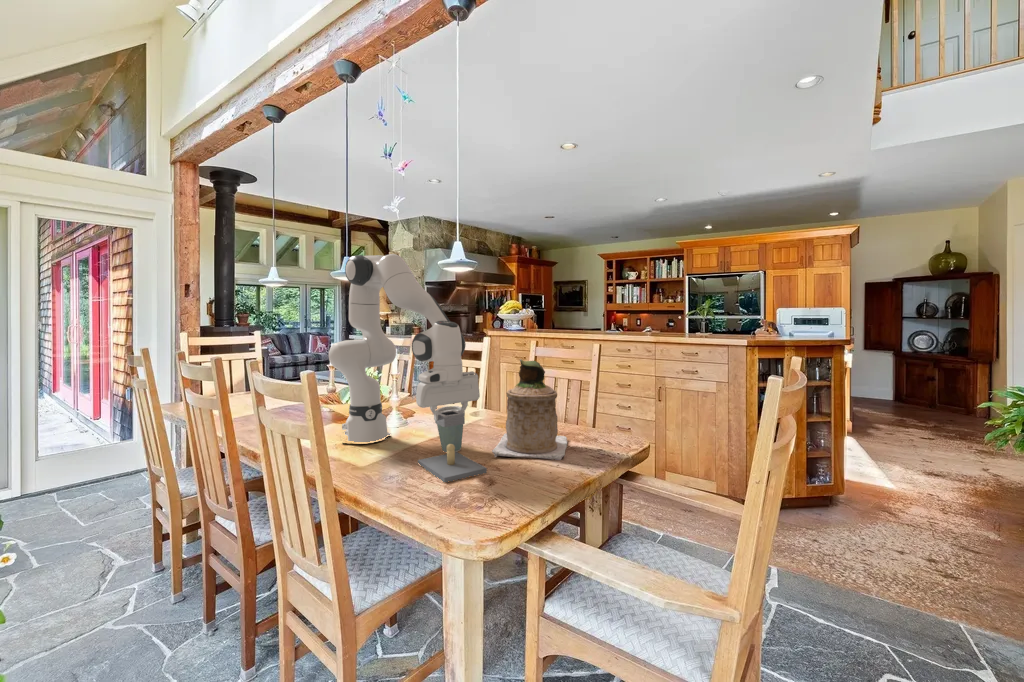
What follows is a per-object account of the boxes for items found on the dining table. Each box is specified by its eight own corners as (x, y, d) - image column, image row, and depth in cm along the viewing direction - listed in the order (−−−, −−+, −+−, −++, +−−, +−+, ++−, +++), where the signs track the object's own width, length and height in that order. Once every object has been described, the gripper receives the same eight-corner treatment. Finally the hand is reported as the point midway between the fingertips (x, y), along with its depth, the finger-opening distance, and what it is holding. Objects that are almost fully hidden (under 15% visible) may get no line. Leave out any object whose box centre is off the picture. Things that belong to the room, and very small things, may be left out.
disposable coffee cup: (464, 455, 159) (462, 411, 158) (432, 455, 159) (431, 412, 158) (467, 446, 170) (466, 405, 169) (438, 446, 170) (436, 405, 169)
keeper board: (417, 464, 151) (417, 440, 150) (457, 456, 158) (456, 433, 158) (444, 483, 134) (443, 456, 133) (486, 472, 142) (486, 447, 141)
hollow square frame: (435, 423, 146) (434, 412, 146) (454, 419, 150) (454, 410, 149) (444, 427, 140) (444, 416, 140) (464, 423, 144) (464, 413, 144)
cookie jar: (565, 461, 151) (564, 362, 149) (490, 458, 155) (488, 362, 153) (568, 440, 176) (567, 355, 174) (503, 438, 180) (502, 355, 177)
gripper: (473, 369, 152) (474, 411, 153) (413, 375, 141) (414, 420, 142) (482, 371, 147) (483, 415, 148) (421, 378, 136) (423, 424, 137)
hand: (449, 418), depth 145 cm, fingers closed on hollow square frame, 7 cm apart
